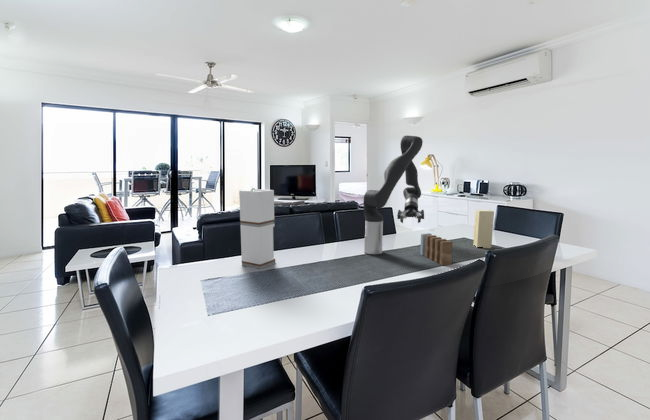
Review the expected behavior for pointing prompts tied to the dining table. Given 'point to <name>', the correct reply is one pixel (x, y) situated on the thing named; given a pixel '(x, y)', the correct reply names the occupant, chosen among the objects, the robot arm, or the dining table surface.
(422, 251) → the slate domino
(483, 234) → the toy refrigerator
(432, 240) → the walnut domino
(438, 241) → the walnut domino
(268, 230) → the white banded tower
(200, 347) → the dining table surface
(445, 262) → the walnut domino
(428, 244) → the walnut domino
